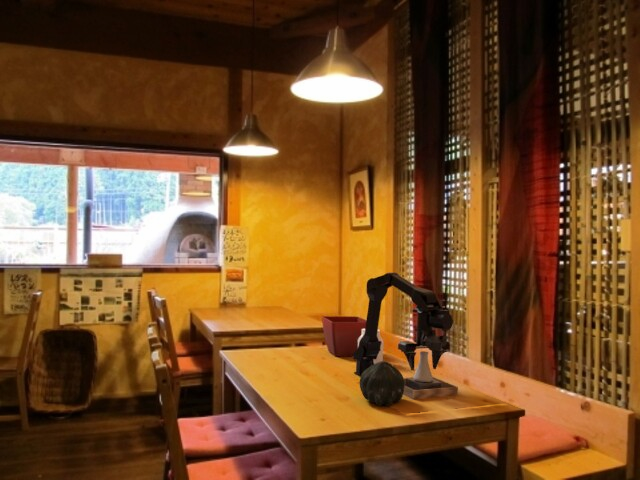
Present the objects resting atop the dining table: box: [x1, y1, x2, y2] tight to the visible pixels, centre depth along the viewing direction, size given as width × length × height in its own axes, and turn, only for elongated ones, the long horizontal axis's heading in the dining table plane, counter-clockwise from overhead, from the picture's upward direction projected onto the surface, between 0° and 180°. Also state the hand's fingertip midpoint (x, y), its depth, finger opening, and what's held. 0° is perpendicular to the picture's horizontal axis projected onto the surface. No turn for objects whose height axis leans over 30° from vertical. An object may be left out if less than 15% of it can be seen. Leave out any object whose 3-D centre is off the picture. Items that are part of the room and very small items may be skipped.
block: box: [405, 376, 441, 390], centre depth 191 cm, size 9×9×4 cm
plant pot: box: [321, 315, 367, 357], centre depth 257 cm, size 19×19×17 cm
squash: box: [359, 360, 405, 407], centre depth 178 cm, size 14×15×15 cm
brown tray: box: [403, 376, 459, 401], centre depth 191 cm, size 18×16×4 cm
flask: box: [412, 350, 434, 382], centre depth 191 cm, size 7×7×10 cm
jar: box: [358, 328, 384, 364], centre depth 237 cm, size 12×10×15 cm
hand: (423, 369), depth 191 cm, fingers open, 9 cm apart
